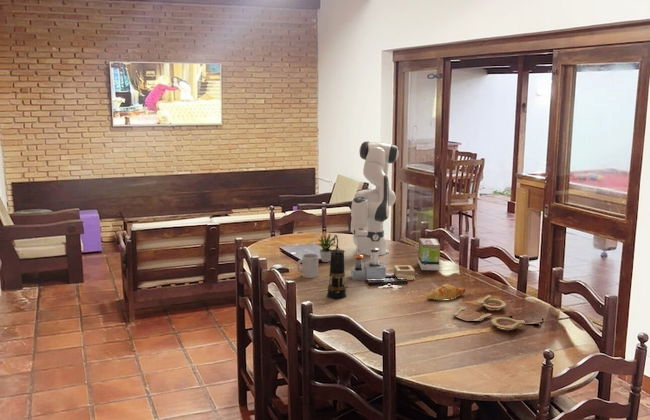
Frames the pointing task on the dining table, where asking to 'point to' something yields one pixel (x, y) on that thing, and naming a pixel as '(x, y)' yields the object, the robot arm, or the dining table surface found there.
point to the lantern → (337, 274)
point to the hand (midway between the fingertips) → (358, 254)
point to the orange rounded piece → (358, 261)
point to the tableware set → (494, 320)
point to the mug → (309, 266)
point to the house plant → (325, 248)
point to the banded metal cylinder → (374, 256)
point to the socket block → (374, 270)
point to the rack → (404, 272)
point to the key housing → (358, 274)
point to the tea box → (429, 254)
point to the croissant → (445, 292)
